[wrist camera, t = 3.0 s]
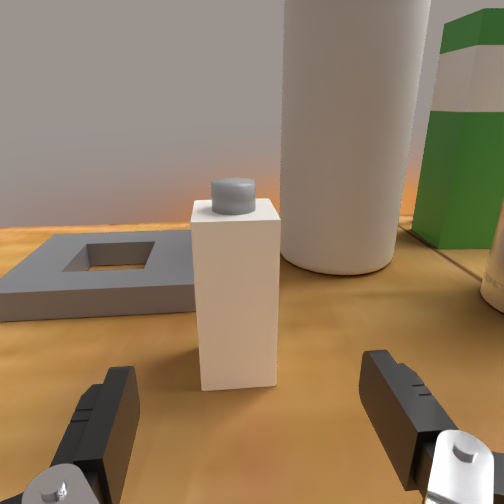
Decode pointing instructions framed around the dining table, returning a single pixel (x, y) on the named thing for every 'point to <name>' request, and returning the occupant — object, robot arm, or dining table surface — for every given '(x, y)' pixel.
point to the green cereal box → (465, 137)
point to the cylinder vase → (347, 128)
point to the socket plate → (101, 277)
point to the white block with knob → (236, 286)
